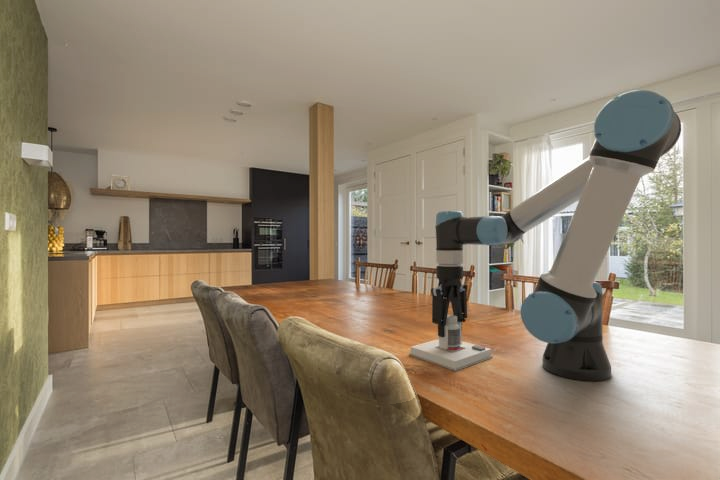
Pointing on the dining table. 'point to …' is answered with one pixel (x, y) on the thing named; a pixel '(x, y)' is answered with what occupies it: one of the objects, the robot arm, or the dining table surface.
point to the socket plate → (451, 354)
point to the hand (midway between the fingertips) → (450, 345)
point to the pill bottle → (453, 334)
